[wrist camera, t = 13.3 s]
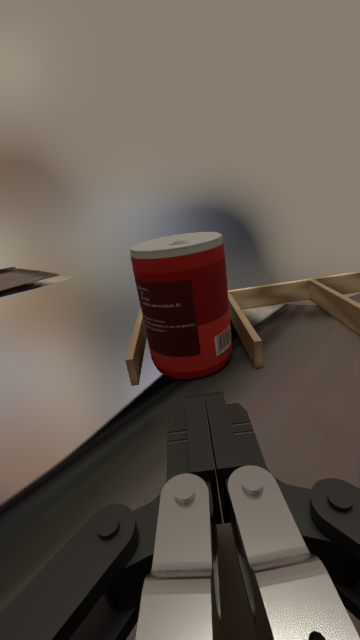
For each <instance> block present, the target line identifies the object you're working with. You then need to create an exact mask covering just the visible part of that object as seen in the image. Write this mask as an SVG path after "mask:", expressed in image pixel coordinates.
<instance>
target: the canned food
mask: <svg viewBox="0 0 360 640" xmlns="http://www.w3.org/2000/svg"><path fill="white" fill-rule="evenodd" d="M130 251H131V261H132V265H133V272H134V276H135V281H136V286H137V291H138V296H139V300H140V305H141V310H142V315H143V319H144V324H145V329H146V334H147V339H148V343H149V348H150V353H151V357H152V360H153V362H154V364H155V366H156V368H157V369H158V370H159V371H160V372H161V373H162V374H164V375H166V376H169V377H172V378H178V379H193V378H199V377H204V376H207V375H210V374H212V373H214V372H216V371H218V370H219V369H221V368H222V367H224V366H225V365H226V364H227V362H228V361H229V359H230V355H231V350H232V339H231V326H230V314H229V302H228V289H227V277H226V265H225V254H224V245H223V240H222V235H221V234H220V233H217V232H197V233H187V234H180V235H173V236H167V237H162V238H157V239H153V240H148V241H144V242H142V243H138V244H136V245H134V246H132V247H131V248H130Z"/></svg>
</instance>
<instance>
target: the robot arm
mask: <svg viewBox="0 0 360 640" xmlns="http://www.w3.org/2000/svg"><path fill="white" fill-rule="evenodd" d="M204 395H205V403H206V410H207V417H206V411H205V405H204V398H203V394H201V395H194V396H186V397H185V406H186V410H181V411H174V412H173V413H172V415H171V417H170V418H169V420H168V438H167V442H168V443H167V480H166V484H165V485H164V487H163V489H162V492H161V494H160V495H159V496H158V497H157V498H156V499H155V500H154V501H152V502H151V503H149V504H147V505H145V506H143V507H141V508H138V509H136V510H134V511H131V509H129V508H128V507H127V506H125V505H122V504H111V505H108V506H105V507H103V508H102V509H100V510H99V511H97V512H96V513H95V514H94V515H93V516H92V517H91V518H90V519H89V520H88V521H87V522H86V523H85V524H84V525H83V526H82V527H81V529H80V530H79V531H78V532H77V533H76V534H75V535H74V536H73V537H72V538H71V539H70V540H69V541H68V542H67V543H66V544H65V545H64V547H63V548H62V549H61V550H60V551H59V552H58V553H57V554H56V555H55V556H54V557H53V558H52V559H51V560H50V561H49V562H48V563H47V565H46V566H45V567H44V568H43V569H42V570H41V571H40V572H39V573H38V574H37V575H36V576H35V577H34V578H33V579H32V580H31V581H30V583H29V584H28V585H27V586H26V587H25V588H24V589H23V590H22V591H21V592H20V593H19V594H18V595H17V596H16V597H15V598H14V599H13V601H12V602H11V603H10V604H9V605H8V606H7V607H6V608H5V609H4V610H3V611H2V612H1V613H0V640H126V639H127V637H128V636H129V634H130V632H131V631H132V629H133V628H134V626H135V624H136V623H137V621H138V625H137V632H136V640H223V628H222V612H221V596H220V580H219V563H218V535H217V528H216V524H222V519H221V512H220V504H219V497H218V489H217V482H218V488H219V494H220V500H221V507H222V513H223V519H224V523H231V526H232V532H233V537H234V545H235V552H236V556H237V560H238V564H239V568H240V572H241V576H242V580H243V584H244V588H245V592H246V596H247V600H248V604H249V608H250V612H251V616H252V620H253V624H254V628H255V632H256V637H257V640H360V638H359V636H358V634H357V632H356V629H355V627H354V625H353V623H352V621H351V619H350V617H349V615H348V613H347V611H346V609H347V610H349V611H350V612H351V613H352V614H353V615H354V616H355V617H356V618H357V619H359V620H360V489H358V488H357V487H355V486H353V485H352V484H350V483H348V482H345V481H343V480H339V479H333V478H327V479H322V480H320V481H318V482H316V483H315V484H314V485H313V487H312V489H307V488H301V487H296V486H291V485H288V484H285V483H283V482H281V481H279V480H278V479H276V478H275V477H274V476H273V475H272V474H271V473H270V472H269V470H268V469H267V466H266V464H265V461H264V459H263V456H262V453H261V450H260V447H259V444H258V442H257V439H256V436H255V433H254V431H253V428H252V425H251V423H250V419H249V416H248V414H247V411H246V410H245V409H244V408H243V407H242V406H241V405H240V404H239V403H233V404H226V403H225V399H224V395H223V392H215V393H208V394H204ZM207 418H208V423H207ZM208 425H209V430H208ZM209 432H210V436H209ZM210 439H211V442H210ZM211 445H212V448H211ZM212 451H213V455H212ZM213 457H214V461H213ZM214 463H215V467H214ZM215 470H216V474H215ZM216 476H217V482H216ZM345 608H346V609H345Z"/></svg>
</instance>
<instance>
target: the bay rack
mask: <svg viewBox="0 0 360 640" xmlns="http://www.w3.org/2000/svg"><path fill="white" fill-rule="evenodd" d="M355 292H360V271H359V272H352V273H345V274H339V275H332V276H325V277H318V278H311V279H304V280H298V281H291V282H284V283H277V284H270V285H264V286H257V287H250V288H243V289H236V290H230V291H228V302H229V314H230V320H231V321H232V323H233V325H234V327H235V329H236V331H237V333H238V335H239V337H240V339H241V341H242V343H243V345H244V347H245V348H246V350H247V352H248V354H249V356H250V358H251V360H252V362H253V364H254V366H255V368H260V367H263V361H262V341H261V339H260V337H259V336H258V334H257V333H256V331H255V330H254V328H253V327H252V325H251V324H250V322H249V321H248V319H247V318H246V316H245V315H244V313H243V312H242V310H241V309H245V308H252V307H259V306H266V305H273V304H280V303H286V302H293V301H300V300H307V299H309V300H311V301H312V302H314V303H315V304H316V305H318V306H319V307H321V308H322V309H324V310H325V311H326V312H328V313H329V314H331V315H332V316H334V317H335V318H337V319H338V320H339V321H341V322H342V323H344V324H345V325H347V326H348V327H349V328H351V329H352V330H354V331H355V332H357V333H358V334H359V335H360V304H359V303H357V302H355V301H353V300H351V299H350V298H348V297H346V296H344V295H342V294H348V293H355ZM146 338H147V334H146V329H145V324H144V319H143V315H142V310H141V306H140V310H139V313H138V317H137V321H136V324H135V328H134V331H133V335H132V338H131V342H130V346H129V349H128V353H127V356H126V365H127V369H128V373H129V377H130V381H131V385H138V384H139V379H140V373H141V367H142V361H143V356H144V350H145V344H146Z"/></svg>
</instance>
